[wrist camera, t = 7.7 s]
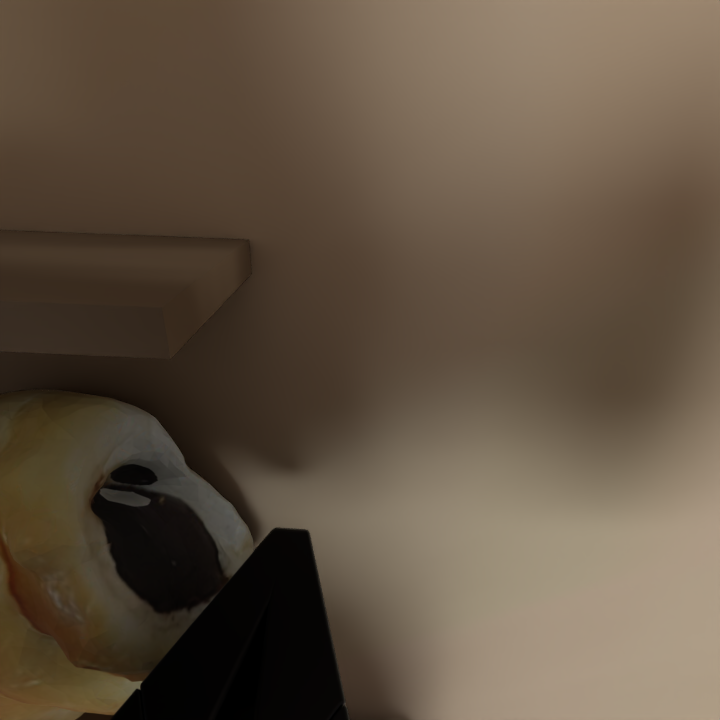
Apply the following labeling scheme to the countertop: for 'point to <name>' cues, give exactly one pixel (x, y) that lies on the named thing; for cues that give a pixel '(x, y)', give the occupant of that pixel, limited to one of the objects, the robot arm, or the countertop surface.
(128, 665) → the pastry
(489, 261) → the countertop surface
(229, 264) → the wooden bracket
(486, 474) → the countertop surface
